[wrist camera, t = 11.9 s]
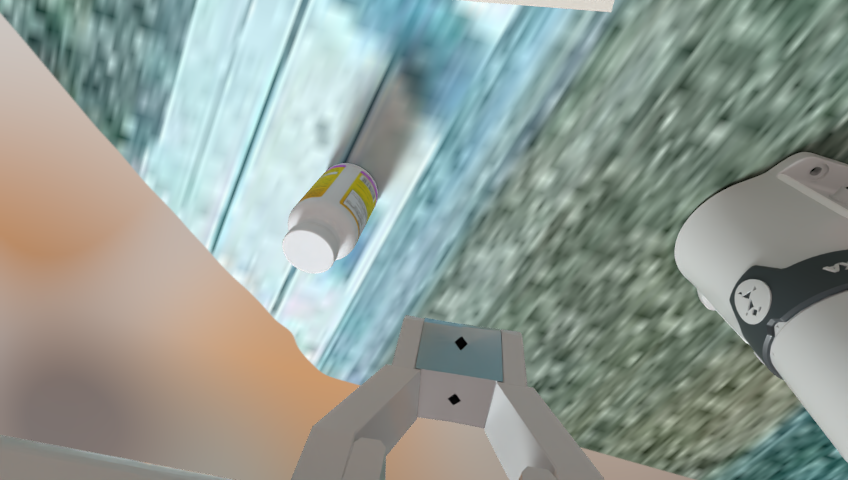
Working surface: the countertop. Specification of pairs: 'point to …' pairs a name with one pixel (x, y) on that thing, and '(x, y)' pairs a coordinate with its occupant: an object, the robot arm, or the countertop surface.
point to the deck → (560, 4)
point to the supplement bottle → (330, 218)
